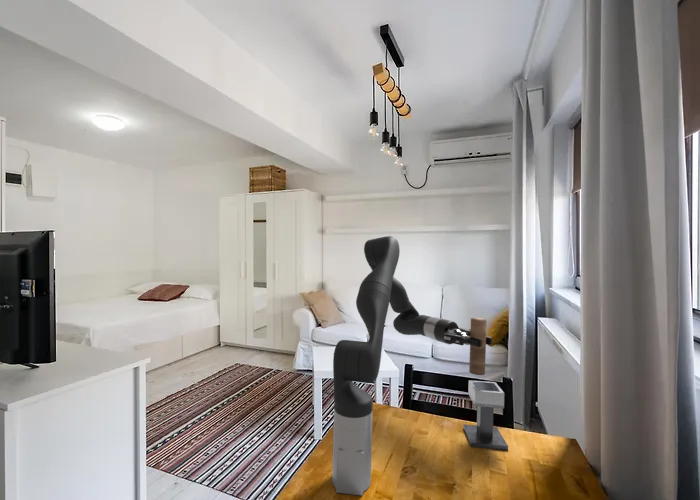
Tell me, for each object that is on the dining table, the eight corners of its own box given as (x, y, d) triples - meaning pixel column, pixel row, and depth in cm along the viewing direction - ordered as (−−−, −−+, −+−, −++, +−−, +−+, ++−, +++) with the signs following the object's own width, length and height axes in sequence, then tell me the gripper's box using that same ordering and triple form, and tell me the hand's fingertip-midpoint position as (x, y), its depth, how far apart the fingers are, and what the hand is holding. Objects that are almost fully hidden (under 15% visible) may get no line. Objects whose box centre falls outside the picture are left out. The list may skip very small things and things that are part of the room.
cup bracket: (508, 450, 93) (509, 394, 93) (471, 446, 94) (472, 392, 94) (496, 431, 102) (497, 381, 103) (463, 428, 104) (464, 378, 104)
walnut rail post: (486, 375, 96) (488, 321, 96) (471, 374, 97) (473, 320, 97) (482, 370, 101) (484, 318, 101) (467, 369, 101) (469, 317, 101)
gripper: (426, 320, 107) (471, 332, 92) (454, 316, 115) (501, 327, 100) (425, 344, 107) (470, 359, 92) (454, 338, 115) (500, 351, 100)
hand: (486, 342), depth 97 cm, fingers closed on walnut rail post, 4 cm apart
